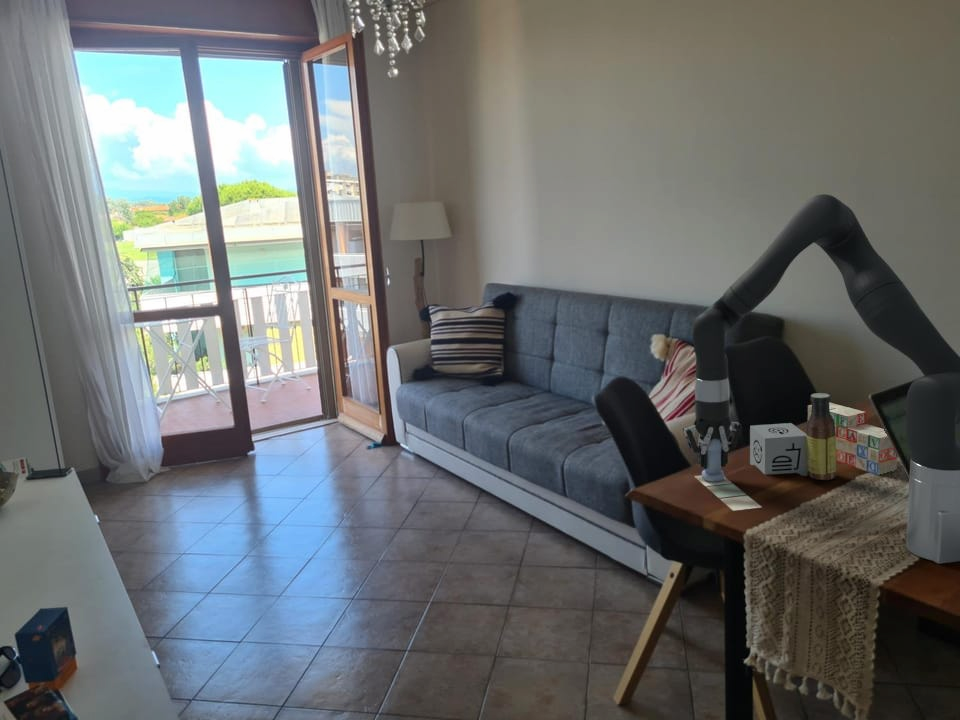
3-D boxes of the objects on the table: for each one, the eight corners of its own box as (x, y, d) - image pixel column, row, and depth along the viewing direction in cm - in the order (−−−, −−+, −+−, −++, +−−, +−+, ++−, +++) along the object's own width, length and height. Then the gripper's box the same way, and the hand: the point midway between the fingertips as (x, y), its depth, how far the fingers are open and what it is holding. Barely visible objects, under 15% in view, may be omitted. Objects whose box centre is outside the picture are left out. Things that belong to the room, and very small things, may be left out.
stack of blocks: (897, 471, 167) (900, 420, 164) (877, 476, 165) (879, 425, 162) (825, 445, 186) (826, 400, 184) (806, 450, 184) (807, 404, 182)
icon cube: (807, 476, 168) (808, 435, 166) (764, 478, 168) (765, 438, 166) (790, 461, 177) (791, 423, 175) (750, 463, 178) (750, 425, 176)
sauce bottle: (829, 471, 169) (832, 390, 165) (840, 481, 163) (843, 397, 159) (801, 472, 170) (802, 391, 166) (810, 482, 164) (812, 399, 160)
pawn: (728, 480, 165) (727, 439, 163) (707, 482, 164) (707, 441, 162) (718, 472, 170) (718, 432, 168) (698, 474, 169) (698, 434, 167)
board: (764, 511, 151) (764, 507, 150) (732, 515, 150) (732, 511, 150) (720, 476, 171) (720, 472, 171) (692, 479, 170) (692, 475, 170)
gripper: (734, 389, 167) (734, 458, 171) (676, 395, 166) (677, 464, 170) (749, 397, 160) (749, 469, 164) (688, 403, 159) (689, 476, 162)
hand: (712, 466), depth 167 cm, fingers open, 4 cm apart
